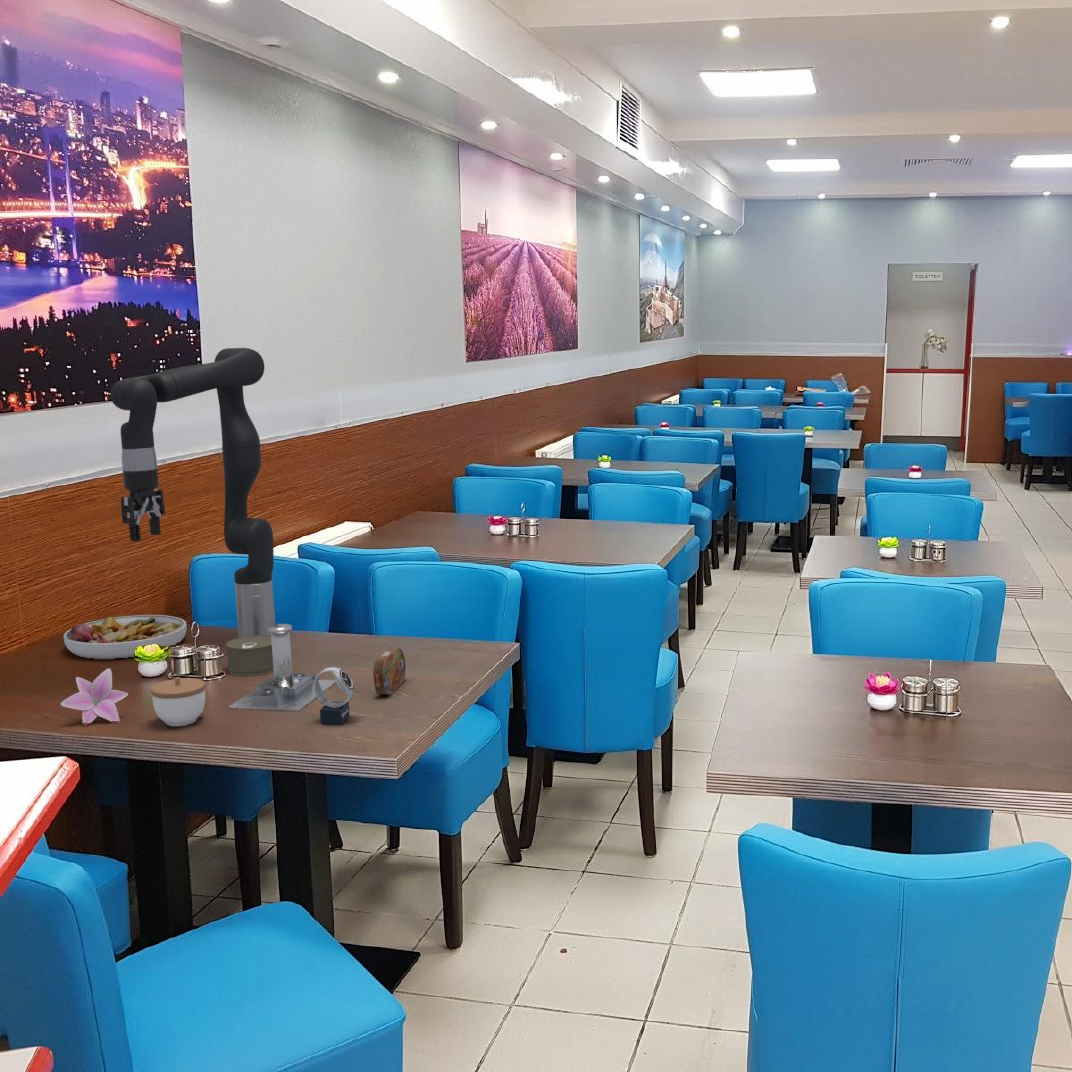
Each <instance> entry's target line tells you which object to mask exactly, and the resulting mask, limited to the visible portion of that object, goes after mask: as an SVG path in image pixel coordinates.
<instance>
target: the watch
mask: <svg viewBox="0 0 1072 1072" xmlns="http://www.w3.org/2000/svg"><path fill="white" fill-rule="evenodd" d="M325 673H331V674H332V675H333V676H334V680H336V684H337V686H338V688H339V689H340V690H341V691H342V692H343V693H344V694H345V696H346V699H345V700H344V701H331V700H328V697H327V696H326V694H325V692H323V691H322V689H321V686H320V684H319V682H318V680H320V676H321V675H322V674H325ZM313 689H314V692H315V694H316V696H317V698H316V699H318V701H319V702H320V703H321V705H323V706H322V707H321V708H320V709H319V718H320V719H319V721H320V725H321V724H322V725H321V726H342V725H343V724H344V723H345V722H346V721H347V720H348V719H349V718H348V717H350V705H349V704H350V702H349V700H350V699H351V697H352V695H353V692H354V689H355V684H354V681H353V679H352V677H351V676H350V674H349V672H348V671H346V670H345V669H343V668H340V667H334V666H330V667H326V668H324V669H322V670H321V671H320V672H319V673H318V674H317V675H315V680H314V688H313Z"/></svg>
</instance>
